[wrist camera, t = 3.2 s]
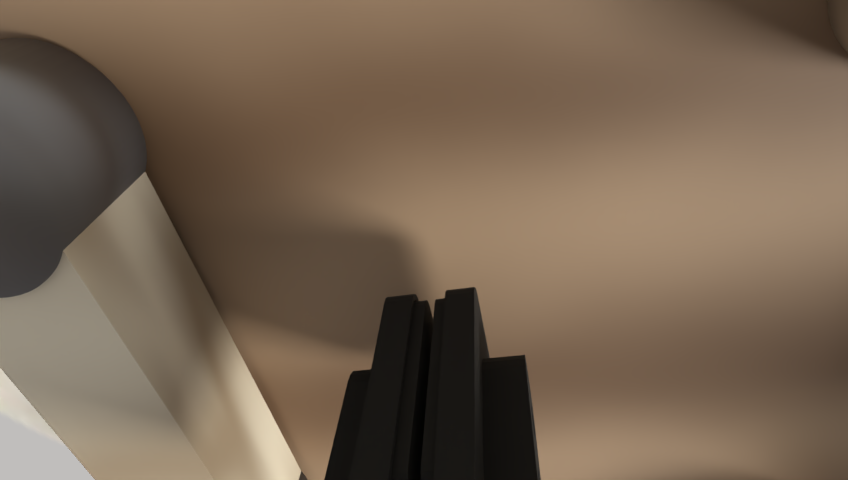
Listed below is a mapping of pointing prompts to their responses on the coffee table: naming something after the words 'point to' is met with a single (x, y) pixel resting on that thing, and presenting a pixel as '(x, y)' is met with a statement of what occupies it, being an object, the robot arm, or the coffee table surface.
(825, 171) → the stool seat
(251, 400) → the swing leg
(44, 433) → the coffee table surface
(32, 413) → the coffee table surface
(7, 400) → the coffee table surface
